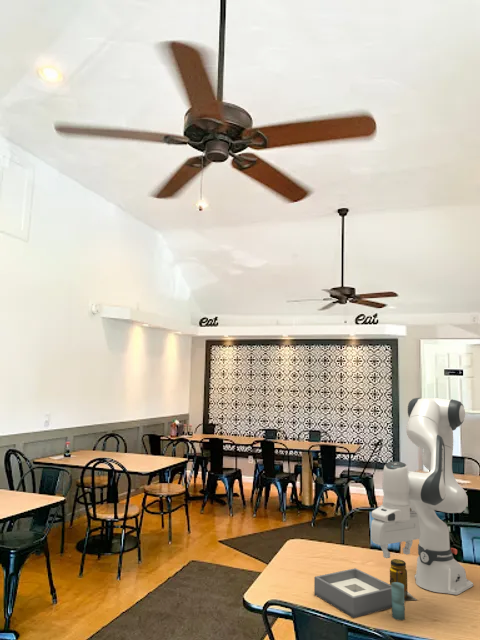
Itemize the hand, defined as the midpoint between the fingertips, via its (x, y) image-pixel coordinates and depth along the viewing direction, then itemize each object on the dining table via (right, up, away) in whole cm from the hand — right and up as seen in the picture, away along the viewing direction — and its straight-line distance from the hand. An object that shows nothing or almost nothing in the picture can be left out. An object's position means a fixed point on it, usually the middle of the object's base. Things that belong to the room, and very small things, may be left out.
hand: (396, 555), depth 156 cm
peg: (0, -19, -3) cm, 19 cm away
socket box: (-12, -20, +9) cm, 25 cm away
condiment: (+6, -22, +13) cm, 26 cm away
